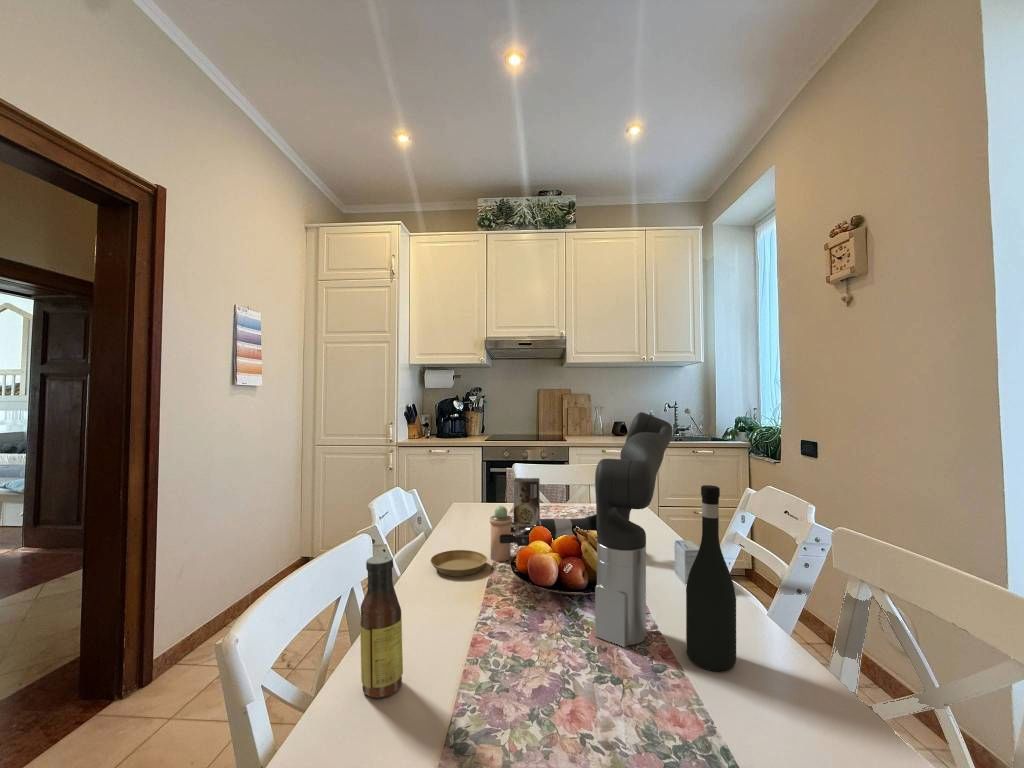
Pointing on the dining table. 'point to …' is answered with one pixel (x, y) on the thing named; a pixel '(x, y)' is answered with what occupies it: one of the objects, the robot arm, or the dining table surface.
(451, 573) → the plant saucer
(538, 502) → the coffee box
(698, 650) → the wine bottle
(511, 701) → the dining table surface
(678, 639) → the dining table surface
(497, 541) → the pepper mill
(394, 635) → the sauce bottle
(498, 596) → the dining table surface
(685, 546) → the medicine box
